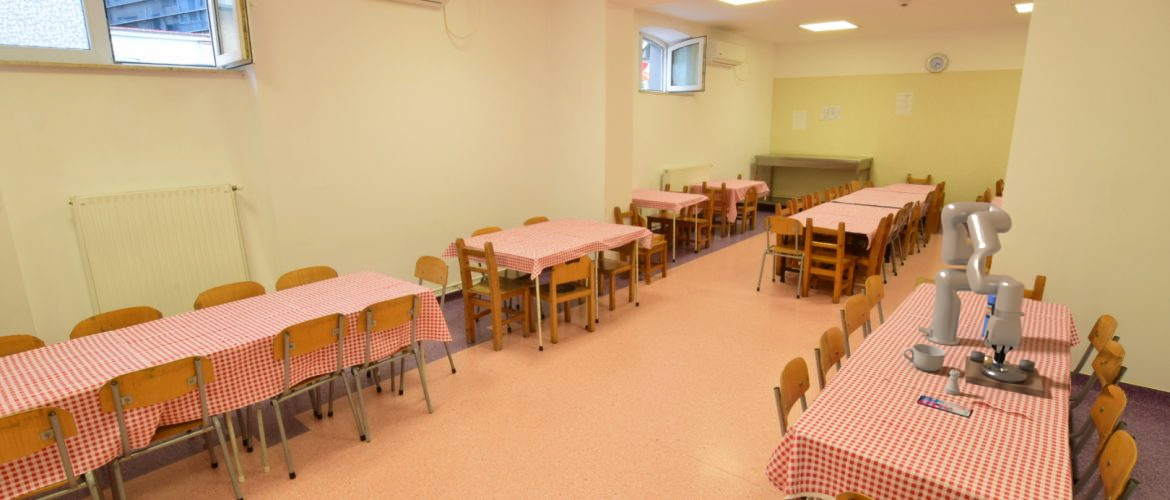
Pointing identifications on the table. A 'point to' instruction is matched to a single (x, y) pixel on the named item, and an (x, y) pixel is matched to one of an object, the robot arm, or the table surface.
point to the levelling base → (1028, 387)
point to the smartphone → (945, 406)
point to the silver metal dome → (1002, 372)
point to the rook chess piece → (953, 383)
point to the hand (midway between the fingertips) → (998, 362)
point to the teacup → (926, 357)
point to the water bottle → (989, 310)
